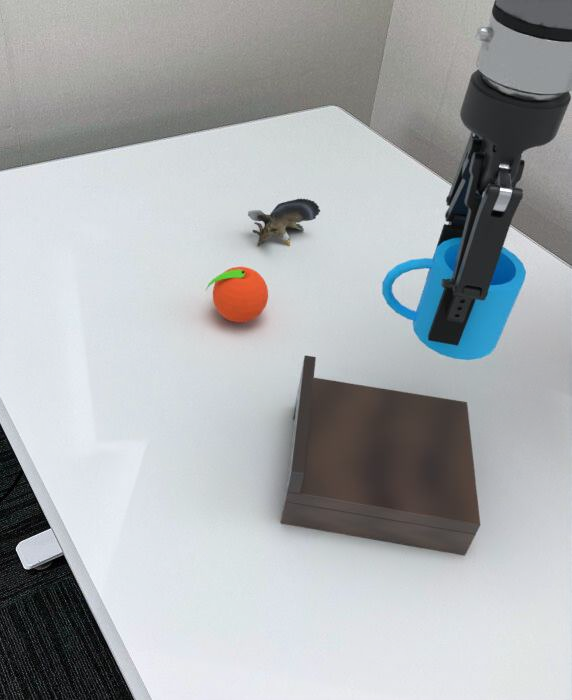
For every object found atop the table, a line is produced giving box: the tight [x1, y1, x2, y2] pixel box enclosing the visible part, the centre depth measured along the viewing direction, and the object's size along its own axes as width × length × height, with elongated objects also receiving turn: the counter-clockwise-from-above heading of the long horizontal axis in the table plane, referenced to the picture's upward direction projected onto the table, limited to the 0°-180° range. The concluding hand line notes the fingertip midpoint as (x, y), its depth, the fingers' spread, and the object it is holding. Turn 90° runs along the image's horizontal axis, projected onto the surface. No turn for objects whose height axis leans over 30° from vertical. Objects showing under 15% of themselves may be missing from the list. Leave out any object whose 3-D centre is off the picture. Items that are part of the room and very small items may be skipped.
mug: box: [381, 238, 527, 361], centre depth 73 cm, size 12×8×8 cm
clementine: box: [204, 266, 269, 323], centre depth 96 cm, size 8×7×7 cm
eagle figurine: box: [247, 198, 321, 247], centre depth 110 cm, size 8×7×9 cm
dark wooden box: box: [280, 355, 481, 556], centre depth 78 cm, size 18×16×8 cm
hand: (441, 310), depth 74 cm, fingers closed on mug, 8 cm apart
